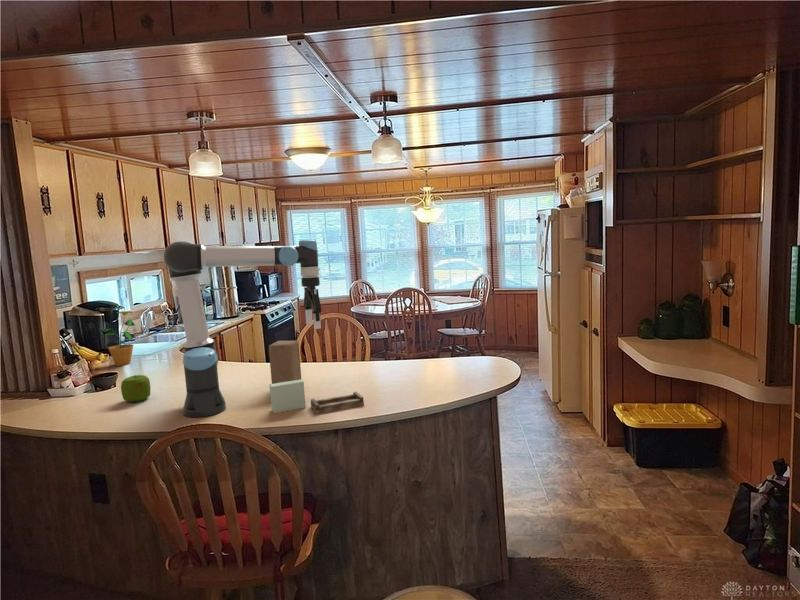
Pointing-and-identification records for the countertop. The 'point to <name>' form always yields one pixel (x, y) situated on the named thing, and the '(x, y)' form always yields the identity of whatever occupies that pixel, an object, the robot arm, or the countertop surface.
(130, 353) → the potted plant
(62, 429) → the countertop surface
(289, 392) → the rectangular block
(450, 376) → the countertop surface
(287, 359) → the wooden block
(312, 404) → the track
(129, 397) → the apple
